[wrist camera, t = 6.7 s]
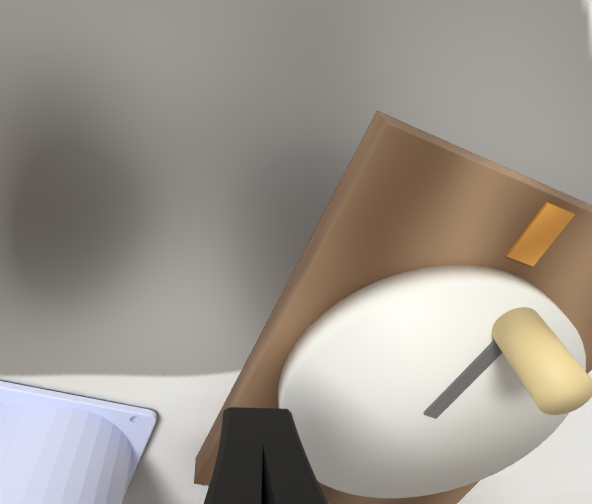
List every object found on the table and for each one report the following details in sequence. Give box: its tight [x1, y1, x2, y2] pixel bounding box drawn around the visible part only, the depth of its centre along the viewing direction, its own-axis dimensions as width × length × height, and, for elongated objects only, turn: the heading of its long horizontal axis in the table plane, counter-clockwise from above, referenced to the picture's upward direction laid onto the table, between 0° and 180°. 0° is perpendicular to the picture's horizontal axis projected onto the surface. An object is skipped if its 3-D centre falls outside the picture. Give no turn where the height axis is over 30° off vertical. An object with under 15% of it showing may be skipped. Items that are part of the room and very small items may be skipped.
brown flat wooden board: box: [194, 111, 592, 504], centre depth 24 cm, size 16×21×2 cm
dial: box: [278, 265, 592, 498], centre depth 21 cm, size 14×14×5 cm
